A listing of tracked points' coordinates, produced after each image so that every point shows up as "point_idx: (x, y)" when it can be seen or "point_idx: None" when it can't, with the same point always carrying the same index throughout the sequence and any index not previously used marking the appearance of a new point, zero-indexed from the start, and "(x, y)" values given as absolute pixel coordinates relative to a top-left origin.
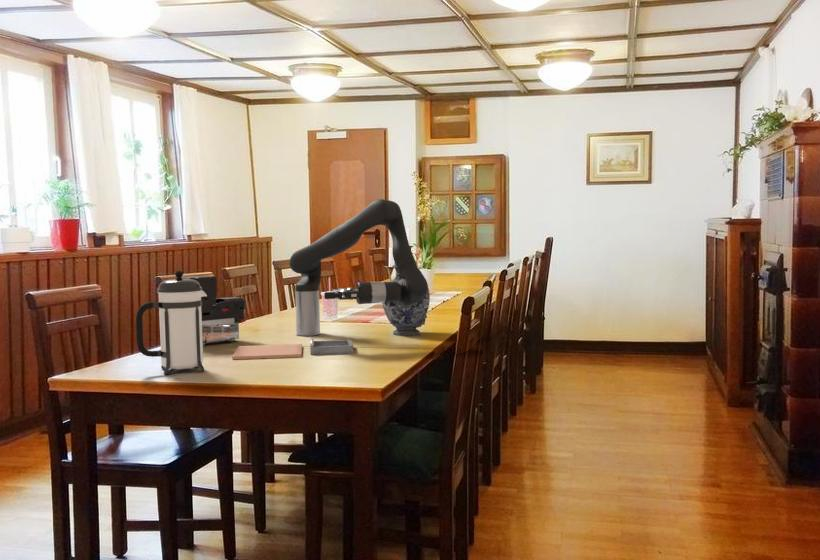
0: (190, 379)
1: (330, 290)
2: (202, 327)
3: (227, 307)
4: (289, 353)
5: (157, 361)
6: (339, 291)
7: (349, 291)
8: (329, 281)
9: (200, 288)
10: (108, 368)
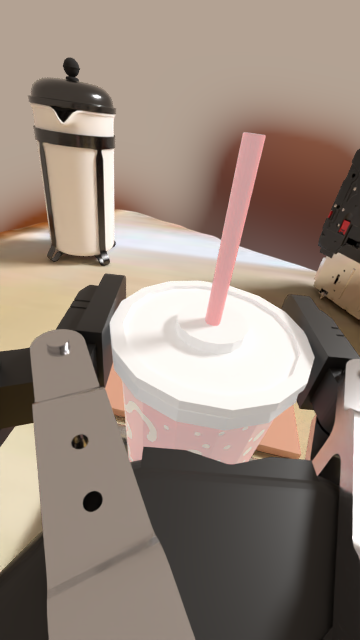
0: (6, 247)
1: (322, 347)
2: (334, 265)
3: None
4: (112, 376)
5: (182, 251)
6: (70, 366)
7: (7, 584)
8: (231, 199)
9: (42, 99)
10: (156, 227)
